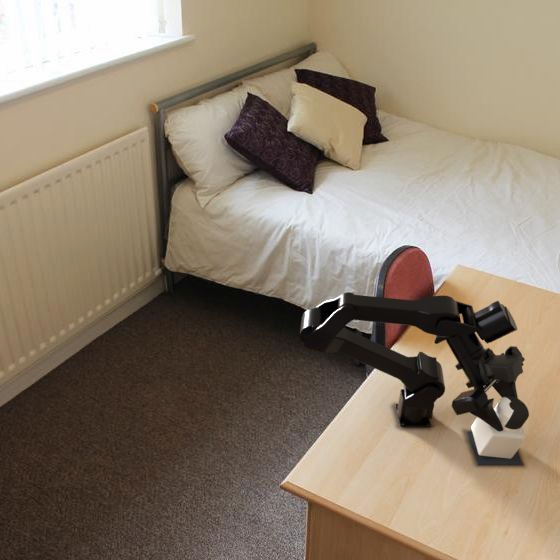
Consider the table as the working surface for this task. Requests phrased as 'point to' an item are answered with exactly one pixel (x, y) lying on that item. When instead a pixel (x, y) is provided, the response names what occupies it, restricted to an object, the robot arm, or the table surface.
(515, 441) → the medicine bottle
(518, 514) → the table surface
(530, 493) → the table surface
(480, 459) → the felt pad
